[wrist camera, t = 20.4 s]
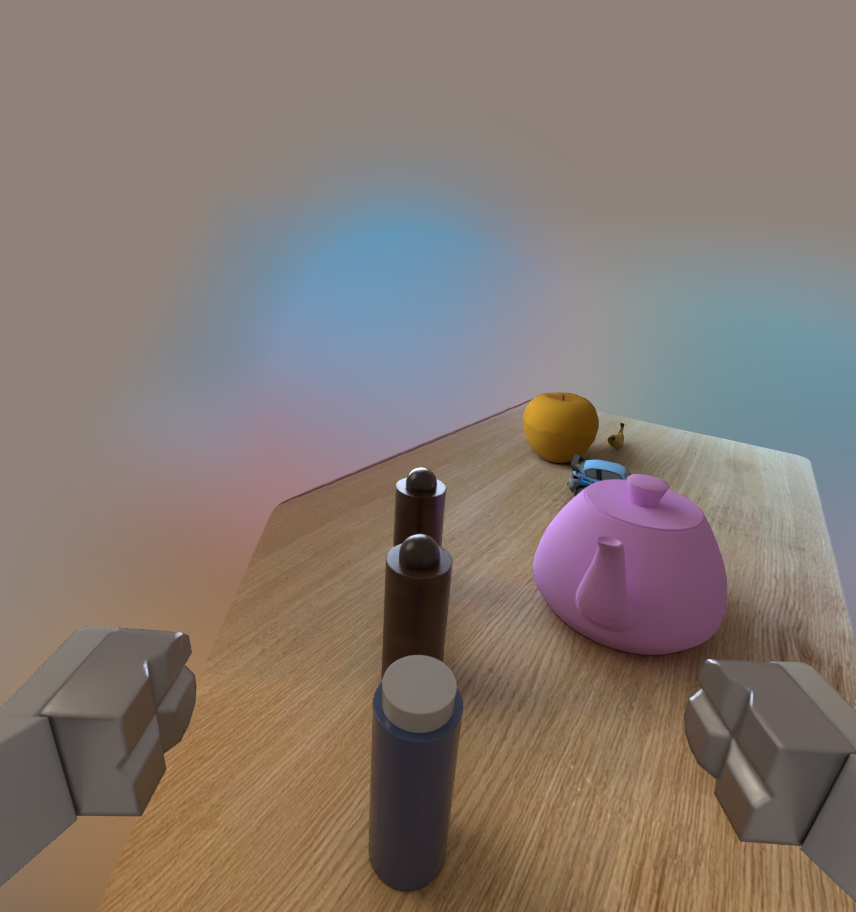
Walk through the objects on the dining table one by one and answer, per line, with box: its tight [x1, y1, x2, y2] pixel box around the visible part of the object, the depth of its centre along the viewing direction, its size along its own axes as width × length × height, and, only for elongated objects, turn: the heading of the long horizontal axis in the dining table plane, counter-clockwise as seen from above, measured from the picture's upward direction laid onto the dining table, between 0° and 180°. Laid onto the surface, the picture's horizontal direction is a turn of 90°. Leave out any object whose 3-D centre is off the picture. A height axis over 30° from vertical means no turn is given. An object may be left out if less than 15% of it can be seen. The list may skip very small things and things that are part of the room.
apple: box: [523, 393, 599, 463], centre depth 87 cm, size 13×13×11 cm
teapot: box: [533, 474, 727, 655], centre depth 47 cm, size 25×18×14 cm
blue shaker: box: [369, 655, 463, 891], centre depth 26 cm, size 4×4×12 cm
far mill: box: [393, 468, 446, 547], centre depth 49 cm, size 5×5×13 cm
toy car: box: [567, 454, 632, 496], centre depth 72 cm, size 6×12×6 cm, turn 67°
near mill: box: [382, 534, 452, 679], centre depth 37 cm, size 5×5×13 cm
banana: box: [608, 423, 624, 448], centre depth 94 cm, size 10×2×4 cm, turn 150°
